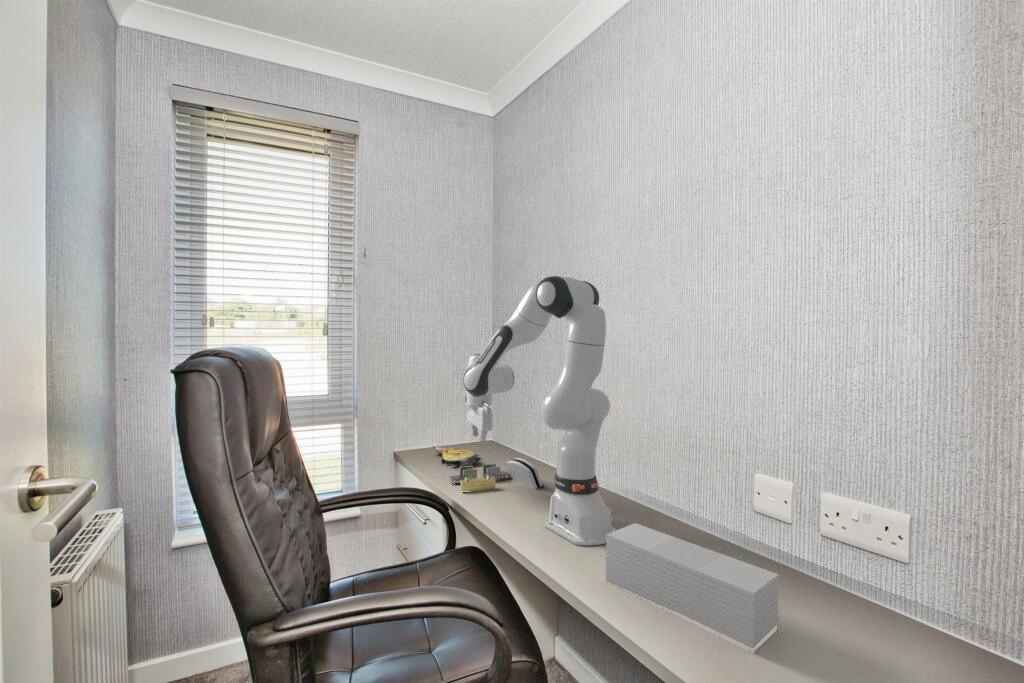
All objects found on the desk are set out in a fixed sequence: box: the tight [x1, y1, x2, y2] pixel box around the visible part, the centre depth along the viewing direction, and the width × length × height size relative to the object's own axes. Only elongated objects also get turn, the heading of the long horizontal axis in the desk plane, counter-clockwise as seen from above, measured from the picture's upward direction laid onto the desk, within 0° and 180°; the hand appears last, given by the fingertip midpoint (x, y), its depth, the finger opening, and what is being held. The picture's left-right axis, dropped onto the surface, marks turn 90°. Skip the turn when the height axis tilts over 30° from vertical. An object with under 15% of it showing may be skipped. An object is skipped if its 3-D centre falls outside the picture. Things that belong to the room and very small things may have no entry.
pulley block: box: [432, 445, 484, 468], centre depth 211 cm, size 14×6×30 cm
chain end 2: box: [481, 463, 510, 482], centre depth 185 cm, size 6×9×5 cm, turn 111°
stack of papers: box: [605, 522, 780, 648], centre depth 100 cm, size 32×11×11 cm, turn 40°
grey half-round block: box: [506, 457, 546, 490], centre depth 180 cm, size 17×5×10 cm, turn 33°
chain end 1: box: [449, 464, 478, 483], centre depth 181 cm, size 6×9×5 cm, turn 111°
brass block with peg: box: [459, 476, 496, 492], centre depth 171 cm, size 2×12×5 cm, turn 111°
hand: (478, 439), depth 171 cm, fingers open, 8 cm apart
